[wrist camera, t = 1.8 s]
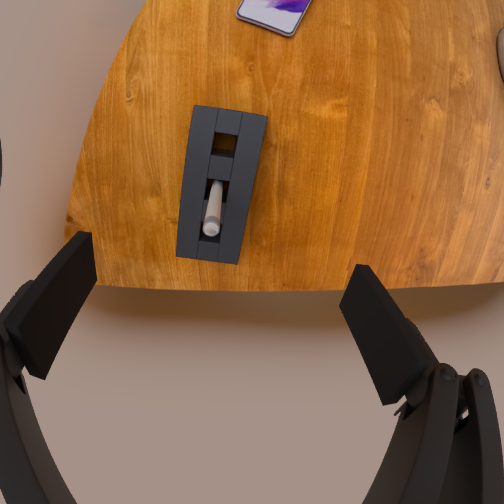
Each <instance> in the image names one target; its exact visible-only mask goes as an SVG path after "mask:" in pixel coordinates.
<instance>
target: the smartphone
mask: <svg viewBox="0 0 504 504" xmlns="http://www.w3.org/2000/svg"><path fill="white" fill-rule="evenodd" d="M310 2H311V0H242V1H241V3H240V5H239V7H238V8H237V10H236V12H235V15H236V17H237V18H239V19H241V20H244V21H247V22H250V23H253V24H256V25H259V26H261V27H264V28H267V29H269V30H272V31H274V32H277V33H279V34H282V35H284V36H292V35H293V34H294V33H295V31H296V29H297V27H298V25H299V23H300V21H301V19H302V17H303V15H304V13H305V12H306V10H307V8H308V6H309V4H310Z"/></svg>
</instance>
